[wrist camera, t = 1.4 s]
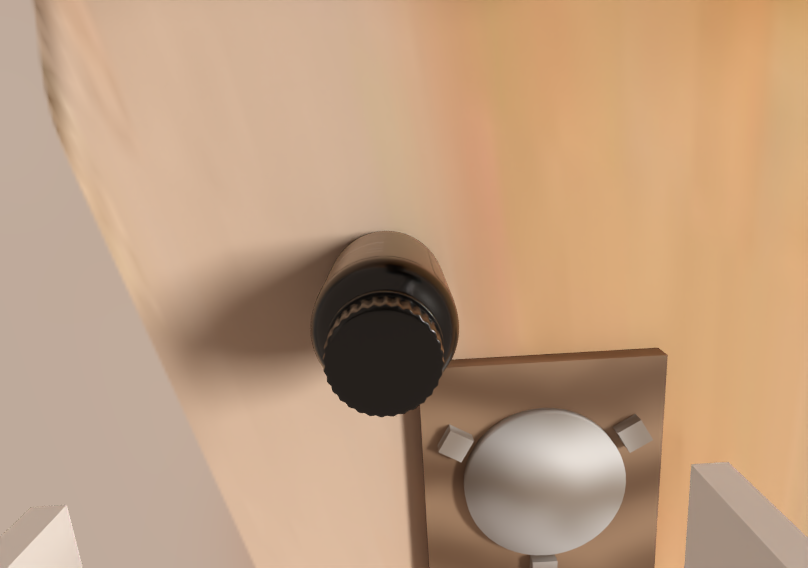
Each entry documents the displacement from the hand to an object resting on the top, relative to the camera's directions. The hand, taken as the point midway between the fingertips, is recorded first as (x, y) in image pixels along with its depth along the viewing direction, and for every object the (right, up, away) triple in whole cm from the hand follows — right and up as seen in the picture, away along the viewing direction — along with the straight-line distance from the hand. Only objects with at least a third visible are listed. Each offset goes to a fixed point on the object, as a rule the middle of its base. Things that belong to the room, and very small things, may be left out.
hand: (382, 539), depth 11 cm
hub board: (+9, -7, +24) cm, 27 cm away
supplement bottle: (0, +5, +21) cm, 22 cm away
